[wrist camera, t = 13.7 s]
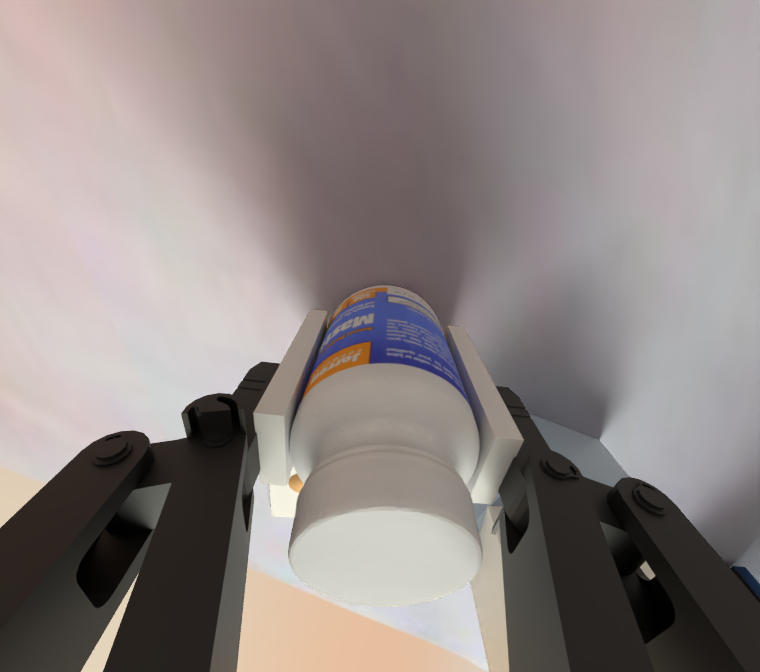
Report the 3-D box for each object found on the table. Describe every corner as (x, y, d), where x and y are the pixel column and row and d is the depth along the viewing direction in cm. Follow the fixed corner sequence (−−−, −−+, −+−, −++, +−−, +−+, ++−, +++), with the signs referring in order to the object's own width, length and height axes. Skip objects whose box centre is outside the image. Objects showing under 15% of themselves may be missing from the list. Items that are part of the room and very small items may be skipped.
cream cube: (618, 507, 14) (764, 715, 8) (576, 573, 17) (666, 759, 11) (487, 505, 14) (552, 710, 9) (468, 571, 17) (507, 756, 11)
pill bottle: (359, 260, 13) (309, 428, 4) (463, 316, 14) (585, 537, 5) (311, 354, 15) (215, 588, 7) (403, 396, 16) (423, 641, 8)
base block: (597, 437, 19) (663, 519, 14) (518, 508, 22) (552, 591, 18) (488, 395, 17) (524, 472, 13) (422, 478, 21) (432, 561, 16)
